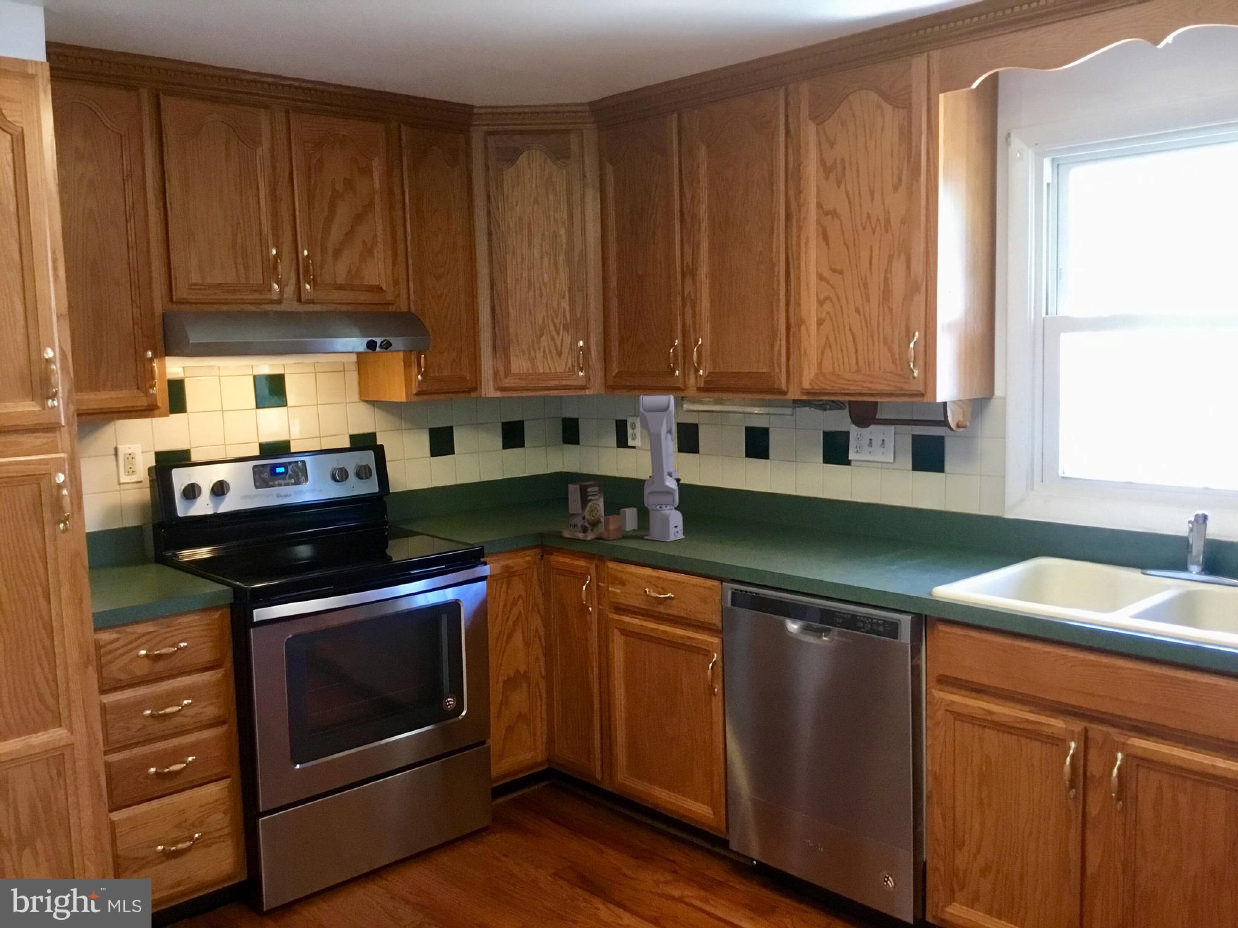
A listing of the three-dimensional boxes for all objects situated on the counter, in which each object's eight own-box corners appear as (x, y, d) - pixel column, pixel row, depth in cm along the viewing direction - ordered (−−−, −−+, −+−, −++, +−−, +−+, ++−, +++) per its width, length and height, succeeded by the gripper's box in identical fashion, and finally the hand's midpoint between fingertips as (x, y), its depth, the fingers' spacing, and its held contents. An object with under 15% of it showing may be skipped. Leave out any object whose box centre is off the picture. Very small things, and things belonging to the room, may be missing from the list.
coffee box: (583, 538, 325) (582, 485, 323) (568, 536, 329) (567, 483, 328) (605, 534, 331) (603, 481, 330) (590, 532, 336) (588, 480, 334)
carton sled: (631, 535, 327) (630, 513, 326) (600, 541, 318) (599, 519, 317) (593, 530, 338) (592, 509, 338) (561, 536, 329) (561, 515, 328)
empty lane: (640, 528, 340) (640, 507, 340) (623, 531, 335) (622, 510, 334) (603, 523, 352) (603, 503, 351) (586, 526, 346) (585, 506, 345)
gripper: (642, 454, 339) (643, 497, 341) (662, 458, 326) (663, 503, 327) (663, 453, 342) (664, 495, 343) (683, 456, 329) (684, 501, 330)
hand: (665, 499), depth 336 cm, fingers open, 7 cm apart
